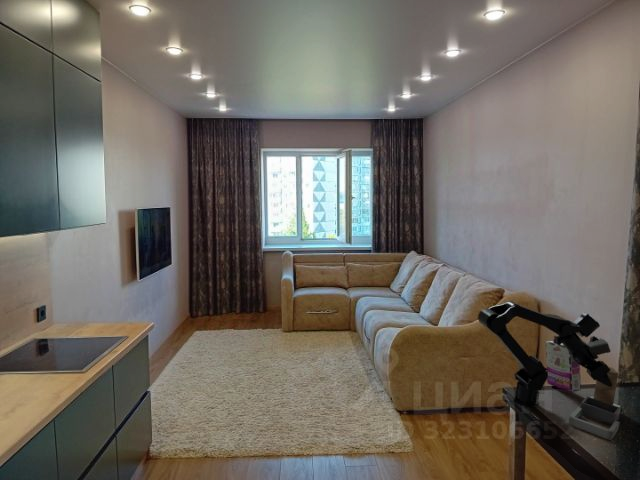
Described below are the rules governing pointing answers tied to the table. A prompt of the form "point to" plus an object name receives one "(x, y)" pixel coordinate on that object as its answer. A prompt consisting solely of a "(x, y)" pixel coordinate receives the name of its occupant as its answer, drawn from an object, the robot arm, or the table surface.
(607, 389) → the walnut block
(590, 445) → the table surface
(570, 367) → the candy bar box
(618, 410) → the trap bin
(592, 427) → the grey shallow tray
